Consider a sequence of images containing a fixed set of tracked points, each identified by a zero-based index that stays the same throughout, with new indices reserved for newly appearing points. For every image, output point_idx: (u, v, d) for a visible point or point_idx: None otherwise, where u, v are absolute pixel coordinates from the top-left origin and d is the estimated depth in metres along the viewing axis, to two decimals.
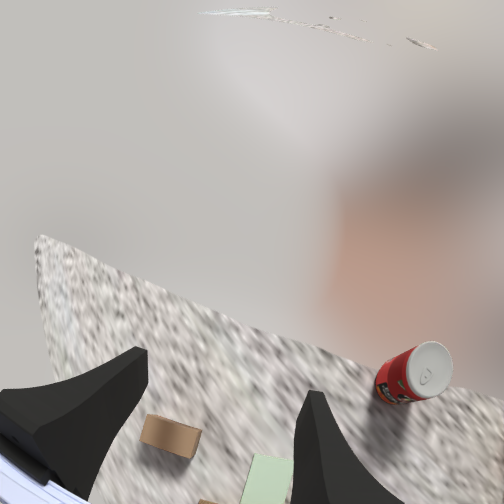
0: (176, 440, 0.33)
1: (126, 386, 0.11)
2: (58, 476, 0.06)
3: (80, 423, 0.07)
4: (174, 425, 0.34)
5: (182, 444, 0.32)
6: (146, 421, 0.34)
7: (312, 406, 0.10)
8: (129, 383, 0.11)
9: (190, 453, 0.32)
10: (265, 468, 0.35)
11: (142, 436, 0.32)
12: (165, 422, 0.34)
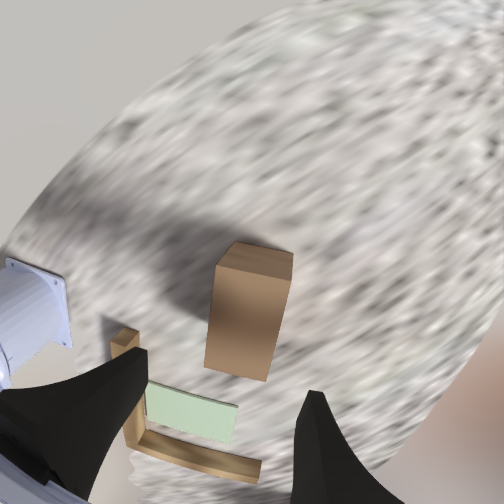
0: (238, 346, 0.17)
1: (126, 386, 0.11)
2: (58, 476, 0.06)
3: (80, 423, 0.07)
4: (273, 342, 0.17)
5: (230, 356, 0.18)
6: (271, 280, 0.16)
7: (312, 406, 0.10)
8: (129, 383, 0.11)
9: (215, 368, 0.18)
10: (214, 416, 0.26)
11: (229, 272, 0.16)
12: (277, 324, 0.17)
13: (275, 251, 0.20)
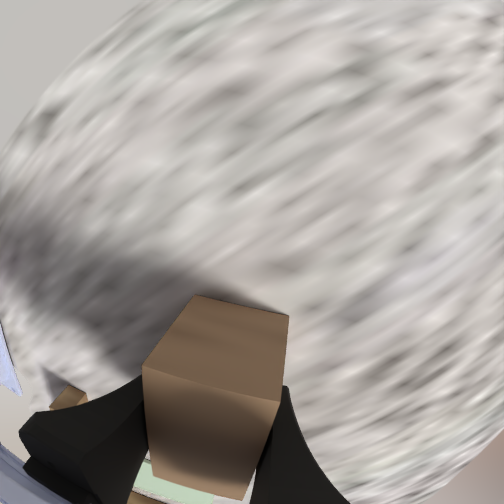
0: (196, 466, 0.09)
1: None
2: (99, 498, 0.06)
3: (121, 442, 0.07)
4: (250, 468, 0.09)
5: (188, 474, 0.10)
6: (243, 399, 0.08)
7: None
8: None
9: (168, 480, 0.10)
10: (188, 488, 0.18)
11: (165, 379, 0.08)
12: (256, 452, 0.08)
13: (258, 314, 0.12)
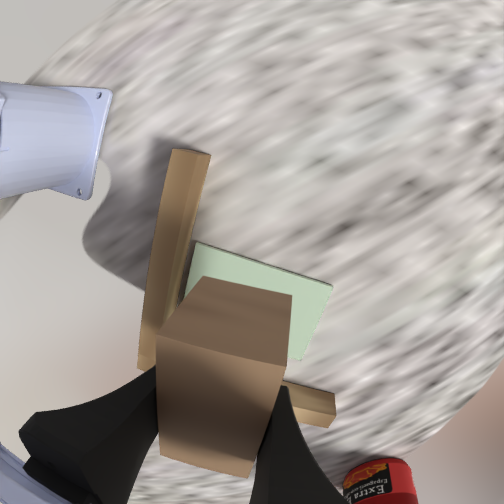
0: (204, 441, 0.10)
1: None
2: (99, 498, 0.06)
3: (121, 441, 0.07)
4: (256, 441, 0.10)
5: (195, 450, 0.10)
6: (251, 365, 0.09)
7: None
8: None
9: (175, 458, 0.11)
10: (292, 305, 0.19)
11: (177, 347, 0.09)
12: (262, 422, 0.09)
13: (263, 292, 0.13)
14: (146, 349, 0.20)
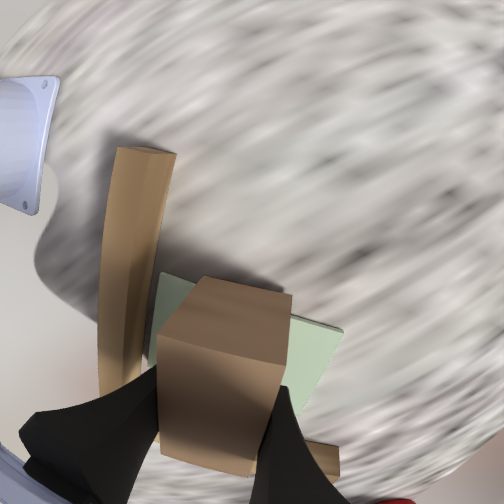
0: (204, 440, 0.10)
1: None
2: (99, 498, 0.06)
3: (121, 442, 0.07)
4: (256, 440, 0.10)
5: (195, 449, 0.10)
6: (251, 364, 0.09)
7: None
8: None
9: (176, 457, 0.11)
10: (289, 355, 0.14)
11: (178, 347, 0.09)
12: (262, 421, 0.09)
13: (263, 293, 0.13)
14: None
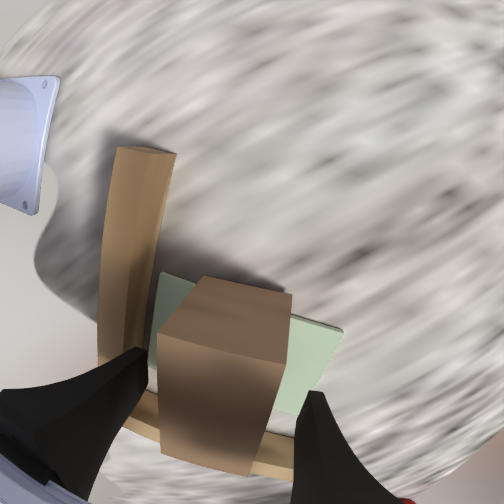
0: (204, 439, 0.10)
1: (126, 386, 0.11)
2: (58, 476, 0.06)
3: (80, 422, 0.07)
4: (256, 439, 0.10)
5: (196, 448, 0.10)
6: (251, 363, 0.09)
7: (312, 406, 0.10)
8: (129, 383, 0.11)
9: (176, 456, 0.11)
10: (289, 355, 0.14)
11: (179, 346, 0.09)
12: (262, 420, 0.09)
13: (263, 292, 0.13)
14: None
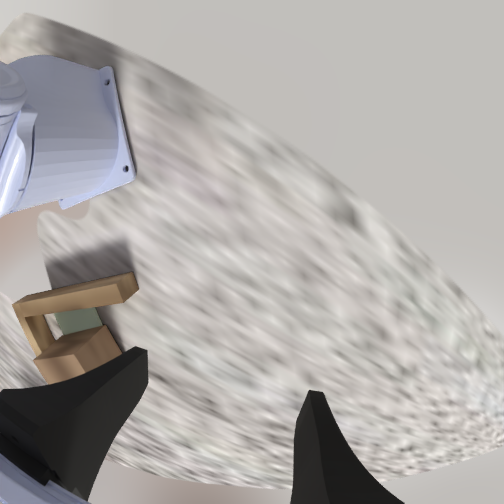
0: (55, 376, 0.21)
1: (126, 386, 0.11)
2: (58, 476, 0.06)
3: (80, 422, 0.07)
4: None
5: (48, 374, 0.21)
6: None
7: (312, 406, 0.10)
8: (129, 383, 0.11)
9: (37, 366, 0.21)
10: None
11: (77, 362, 0.20)
12: None
13: (118, 352, 0.25)
14: (24, 308, 0.23)
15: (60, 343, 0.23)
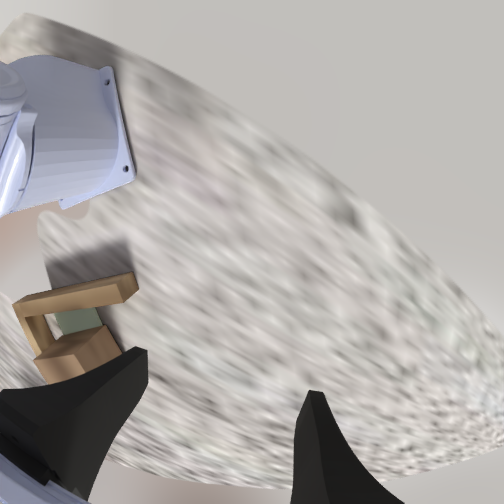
0: (55, 376, 0.21)
1: (126, 386, 0.11)
2: (58, 476, 0.06)
3: (80, 422, 0.07)
4: None
5: (48, 374, 0.21)
6: None
7: (312, 406, 0.10)
8: (129, 383, 0.11)
9: (37, 366, 0.21)
10: None
11: (77, 362, 0.20)
12: None
13: (118, 352, 0.25)
14: (24, 308, 0.23)
15: (60, 343, 0.23)
